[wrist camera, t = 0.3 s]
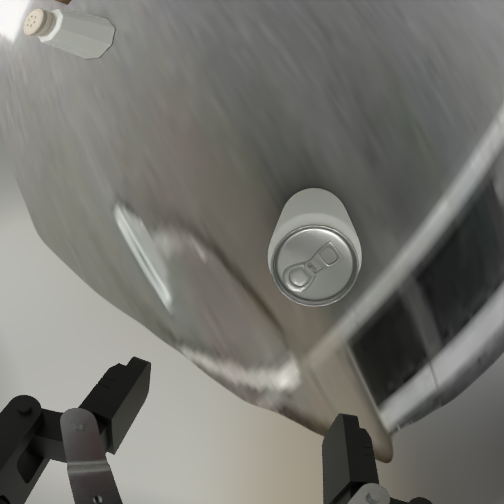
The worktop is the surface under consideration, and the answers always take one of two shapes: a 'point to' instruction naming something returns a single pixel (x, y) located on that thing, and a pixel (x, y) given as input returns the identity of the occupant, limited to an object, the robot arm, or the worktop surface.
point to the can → (314, 249)
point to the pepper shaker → (71, 31)
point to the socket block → (64, 1)
